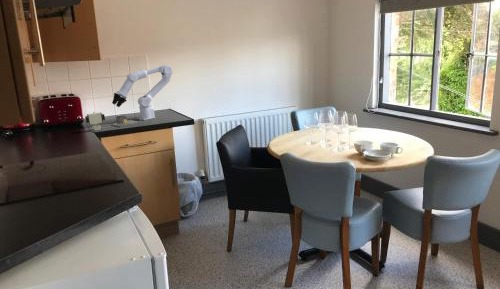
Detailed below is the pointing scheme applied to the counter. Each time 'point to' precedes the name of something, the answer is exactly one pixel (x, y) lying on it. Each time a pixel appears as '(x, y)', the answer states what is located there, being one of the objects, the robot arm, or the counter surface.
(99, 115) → the pneumatic valve
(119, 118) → the knob
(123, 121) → the mount plate
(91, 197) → the counter surface
